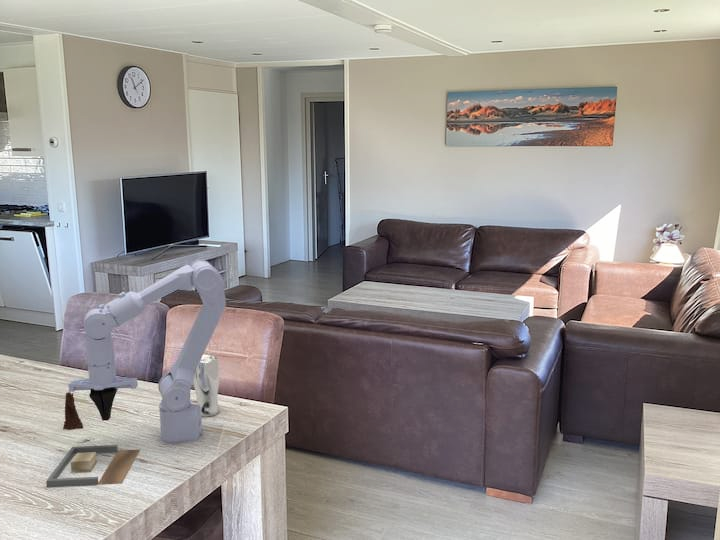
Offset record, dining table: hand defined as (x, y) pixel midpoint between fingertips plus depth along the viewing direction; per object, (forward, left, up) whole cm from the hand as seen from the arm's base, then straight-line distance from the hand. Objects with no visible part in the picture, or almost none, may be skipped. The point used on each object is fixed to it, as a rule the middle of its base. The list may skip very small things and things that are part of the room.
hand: (106, 418), depth 145 cm
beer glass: (-19, -21, -9) cm, 30 cm away
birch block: (+3, +9, -8) cm, 12 cm away
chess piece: (+13, -13, -9) cm, 20 cm away
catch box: (+3, +9, -8) cm, 13 cm away
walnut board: (-5, +9, -8) cm, 13 cm away
